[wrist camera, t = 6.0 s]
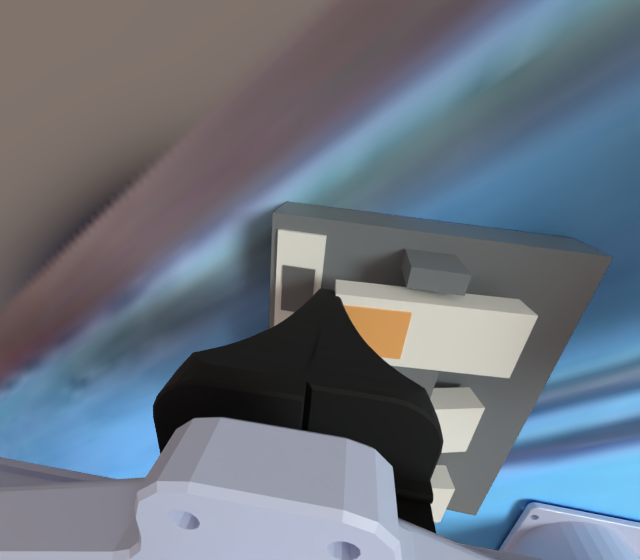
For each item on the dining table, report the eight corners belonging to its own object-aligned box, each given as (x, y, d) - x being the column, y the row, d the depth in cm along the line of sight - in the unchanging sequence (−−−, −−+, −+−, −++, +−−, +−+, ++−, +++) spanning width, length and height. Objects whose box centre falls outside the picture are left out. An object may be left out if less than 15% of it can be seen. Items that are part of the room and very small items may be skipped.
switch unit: (463, 474, 21) (487, 556, 17) (274, 437, 22) (253, 506, 18) (572, 237, 14) (659, 278, 10) (287, 201, 15) (256, 224, 11)
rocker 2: (432, 497, 17) (440, 524, 16) (307, 491, 17) (306, 518, 16) (445, 465, 16) (455, 491, 15) (311, 458, 16) (311, 483, 15)
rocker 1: (494, 358, 13) (510, 379, 12) (327, 339, 13) (327, 360, 12) (519, 299, 12) (539, 317, 11) (335, 279, 12) (335, 294, 11)
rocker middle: (452, 429, 16) (466, 453, 14) (314, 435, 14) (317, 461, 13) (469, 387, 14) (486, 409, 13) (320, 390, 13) (324, 414, 12)
